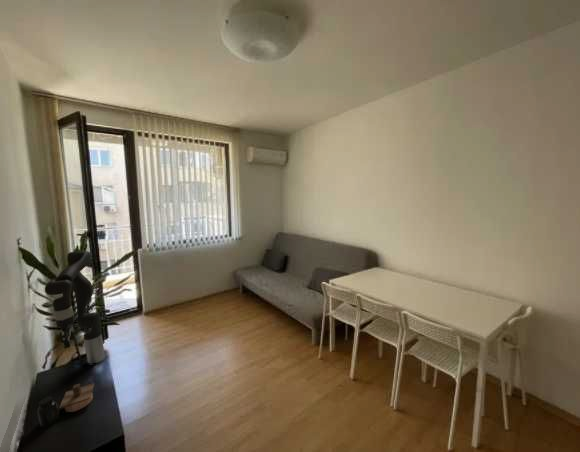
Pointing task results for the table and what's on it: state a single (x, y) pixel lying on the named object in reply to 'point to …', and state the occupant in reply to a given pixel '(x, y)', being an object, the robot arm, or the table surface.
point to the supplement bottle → (48, 412)
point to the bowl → (79, 405)
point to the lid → (77, 395)
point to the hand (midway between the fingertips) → (69, 343)
